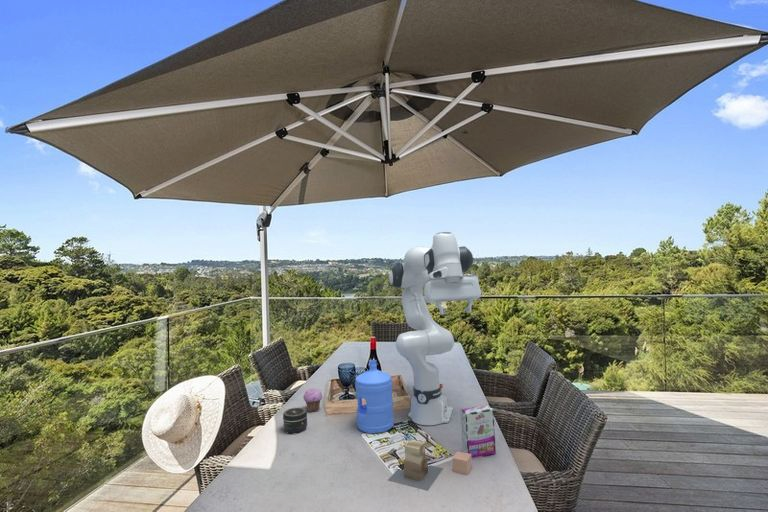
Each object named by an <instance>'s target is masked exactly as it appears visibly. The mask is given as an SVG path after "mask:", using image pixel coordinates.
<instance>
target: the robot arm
mask: <svg viewBox="0 0 768 512" xmlns="http://www.w3.org/2000/svg"><path fill="white" fill-rule="evenodd" d="M432 239H433V240H432V244H431V247H425V246H415V247H411V248H410V249H408V250H407V251H406V252H405V254H404V257H403V258H404V259H403V262H402V263H401V262H399V261H398V262H397V263H396V264H395V265H393V266H392V267H391V269H390V270H389V273H388V281H389V283H390V285H391V287H393V288H396V289H400V288H403V289H402V292H401V304H402V309H403V313H404V316H405V321H406V324H407V326H408V327H410V328H412V329H414V330H410V331H406V332H402V333H400V334H398V336H397V339H396V341H395V347H396V352H397V353H398V354H399V355H400V356H401V357H402V358H404V359H405V360H406V361H407V362H408V363H409V365H410V366H411V369H412V375H413V388H412V389H413V390H412V393H413V396H412V397H411V399H410V412H408V415H407V416H408V417H409V418H410V419H411V421H412V422H413V423H415V424H417V425H421V426H436V425H441V424H448V423H449V422H450V420H451V416H452V414H453V410H454V408H453V407H452V406H449V405H448V398H447V397H446V396H445V395H443V392H442V389H443V387H444V385H443V383H440V370H439V368H438V367H437V365H435V364H434V363H431V362H429V361H427V360H426V357H427V356H434V355H437V356H438V355H442V354H445V353H449V352H451V351H452V350H453V348H454V345H455V338H454V336H453V334H452V332H451V331H450V330H449V329H448V328H447V329H446V328H444V327H443V326H441V325H440V324H438V323H437V322H436V321H435V320H434V318H433V316H432V315H431V313H430V311H429V308H428V305H427V303H428V304H429V303H435V306H436V308H437V309H438V310H439V315H446V314H447V311H446V310H447V309H446V308H443V306H442V302H443V303H444V302H457V301H466V303H467V304H468V305H467V306H466V307H464V309H465V313H466V314H467V313H472V306H473V303H474V300H478V299H481V297H482V290H481V287H480V281H479V277H478V276H477V275H476V274H475V273H467V272H468V271H469V270H470V269H471V268H472V266H473V263H474V257H473V256H474V255H473V253H472V251H470V249H469V248H468V247H467V246H458V241H457V238H456V236H455V234H454V233H452V232H450V231H443V232H437V233H435V234H433V236H432Z"/></svg>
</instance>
